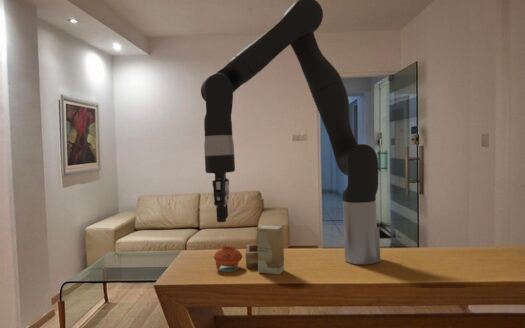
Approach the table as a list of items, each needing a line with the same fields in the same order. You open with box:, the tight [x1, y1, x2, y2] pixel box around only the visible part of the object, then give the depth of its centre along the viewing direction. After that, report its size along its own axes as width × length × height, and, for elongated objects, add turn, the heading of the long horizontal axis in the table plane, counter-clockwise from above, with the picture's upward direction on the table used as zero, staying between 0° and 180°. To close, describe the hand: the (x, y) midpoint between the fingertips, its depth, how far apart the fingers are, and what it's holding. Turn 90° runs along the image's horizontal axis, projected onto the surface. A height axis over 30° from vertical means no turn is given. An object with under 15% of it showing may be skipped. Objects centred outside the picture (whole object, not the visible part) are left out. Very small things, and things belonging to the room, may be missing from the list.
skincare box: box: [256, 224, 285, 275], centre depth 103 cm, size 6×4×12 cm
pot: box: [213, 245, 243, 271], centre depth 108 cm, size 8×8×7 cm
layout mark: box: [218, 265, 240, 273], centre depth 108 cm, size 6×6×1 cm
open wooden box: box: [245, 243, 258, 269], centre depth 113 cm, size 8×10×4 cm
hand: (222, 219), depth 98 cm, fingers open, 5 cm apart
